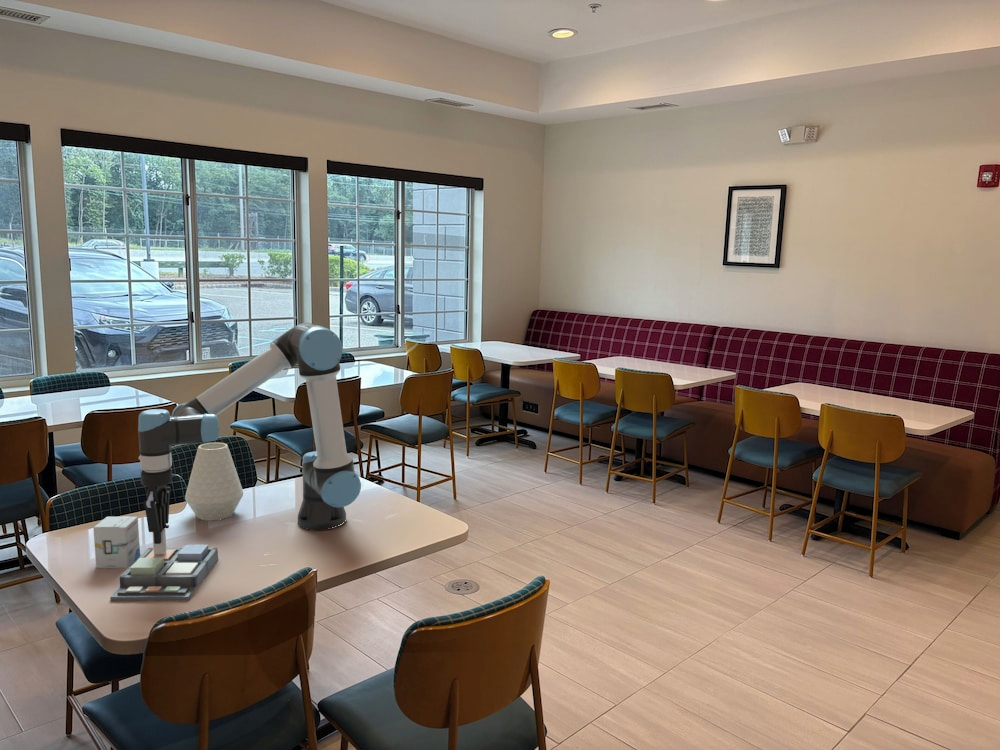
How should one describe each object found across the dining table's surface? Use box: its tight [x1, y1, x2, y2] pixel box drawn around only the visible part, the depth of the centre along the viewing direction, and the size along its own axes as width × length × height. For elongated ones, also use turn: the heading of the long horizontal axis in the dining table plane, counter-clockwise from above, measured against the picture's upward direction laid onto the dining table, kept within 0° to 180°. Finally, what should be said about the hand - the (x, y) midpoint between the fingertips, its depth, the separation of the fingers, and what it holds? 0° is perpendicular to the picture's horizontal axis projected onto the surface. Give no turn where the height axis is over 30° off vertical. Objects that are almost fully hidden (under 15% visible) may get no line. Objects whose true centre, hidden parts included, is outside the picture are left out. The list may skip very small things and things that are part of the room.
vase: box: [184, 441, 244, 522], centre depth 233 cm, size 18×17×23 cm
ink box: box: [93, 515, 141, 569], centre depth 197 cm, size 9×8×12 cm
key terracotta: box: [145, 550, 176, 561], centre depth 195 cm, size 6×6×2 cm
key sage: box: [129, 557, 164, 575], centre depth 186 cm, size 6×6×2 cm
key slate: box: [178, 544, 209, 561], centre depth 195 cm, size 6×6×2 cm
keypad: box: [109, 547, 219, 602], centre depth 189 cm, size 18×24×4 cm
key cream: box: [166, 563, 198, 575], centre depth 187 cm, size 6×6×2 cm
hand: (160, 553), depth 195 cm, fingers closed
